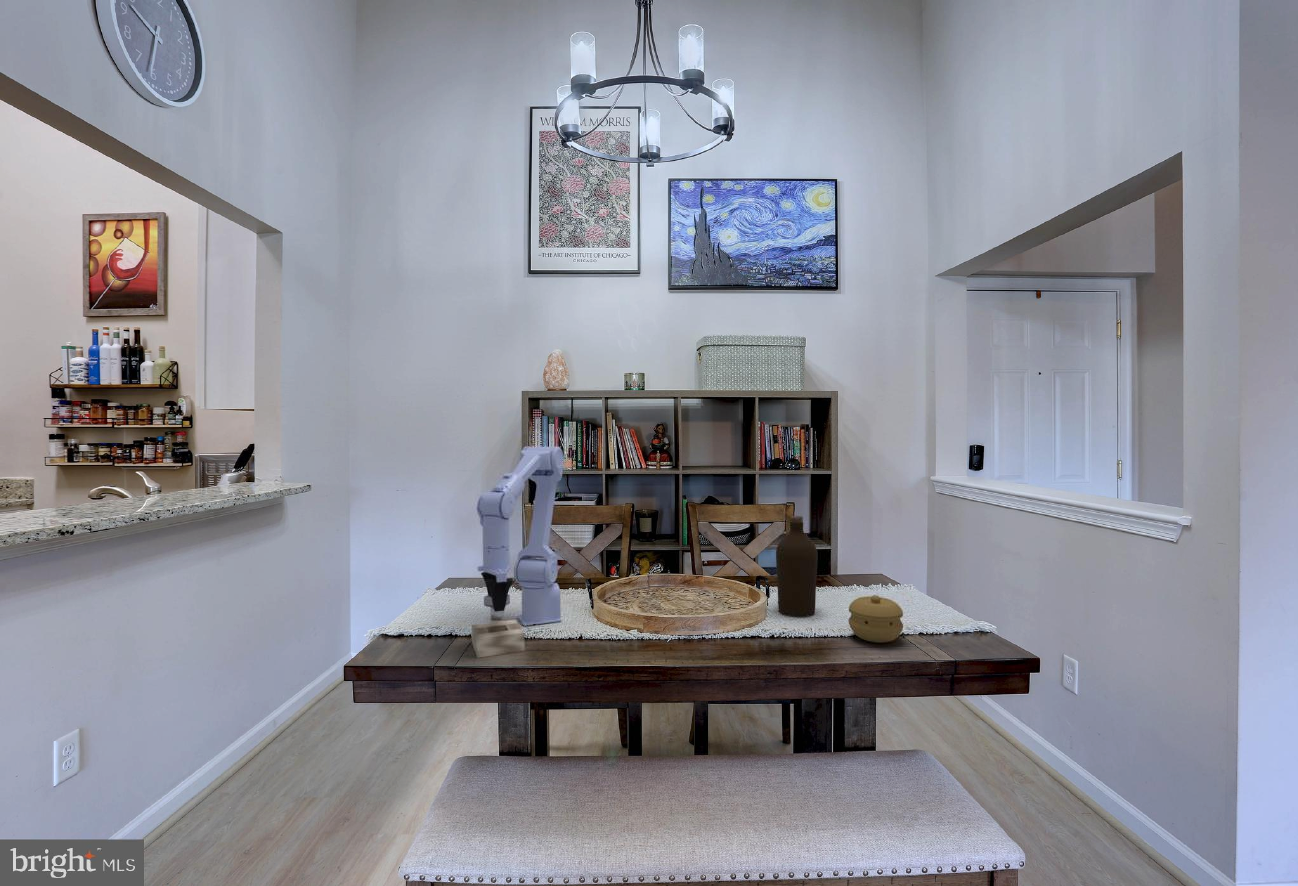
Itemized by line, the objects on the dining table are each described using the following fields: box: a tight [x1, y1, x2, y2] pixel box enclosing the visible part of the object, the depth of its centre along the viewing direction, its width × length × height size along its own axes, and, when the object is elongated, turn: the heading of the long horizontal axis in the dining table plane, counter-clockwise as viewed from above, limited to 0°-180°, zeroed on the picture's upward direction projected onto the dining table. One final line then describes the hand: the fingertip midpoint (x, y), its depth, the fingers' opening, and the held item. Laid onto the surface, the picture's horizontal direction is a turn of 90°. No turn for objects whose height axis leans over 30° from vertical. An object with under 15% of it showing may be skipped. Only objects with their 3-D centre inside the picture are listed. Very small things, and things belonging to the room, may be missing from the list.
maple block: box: [471, 618, 526, 658], centre depth 137 cm, size 10×10×4 cm
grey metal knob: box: [483, 594, 511, 622], centre depth 137 cm, size 6×6×5 cm
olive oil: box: [775, 515, 819, 618], centre depth 161 cm, size 11×11×25 cm
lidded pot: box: [847, 594, 904, 644], centre depth 140 cm, size 12×12×10 cm
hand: (497, 606), depth 137 cm, fingers closed on grey metal knob, 6 cm apart
